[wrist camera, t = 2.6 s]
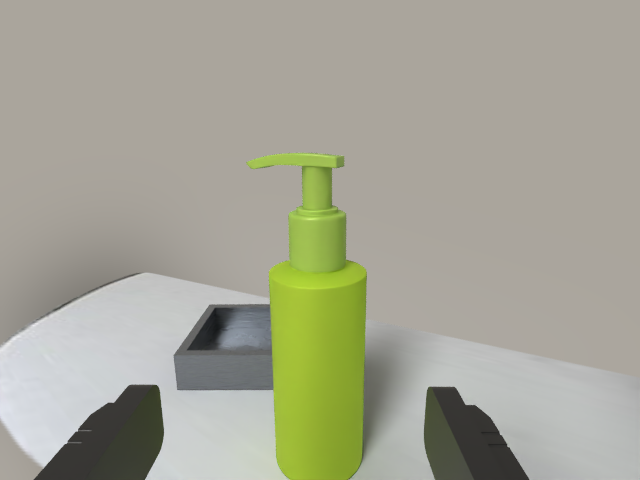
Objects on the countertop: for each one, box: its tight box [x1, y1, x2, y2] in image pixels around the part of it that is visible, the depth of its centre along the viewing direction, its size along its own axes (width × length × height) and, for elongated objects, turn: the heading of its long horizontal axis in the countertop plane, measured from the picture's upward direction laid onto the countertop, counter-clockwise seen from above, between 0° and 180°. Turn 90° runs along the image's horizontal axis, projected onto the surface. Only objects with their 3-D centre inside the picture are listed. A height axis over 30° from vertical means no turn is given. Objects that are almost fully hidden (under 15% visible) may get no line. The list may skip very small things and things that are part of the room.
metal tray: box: [174, 304, 274, 390], centre depth 38 cm, size 12×11×3 cm
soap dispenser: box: [247, 153, 367, 480], centre depth 24 cm, size 6×7×20 cm
